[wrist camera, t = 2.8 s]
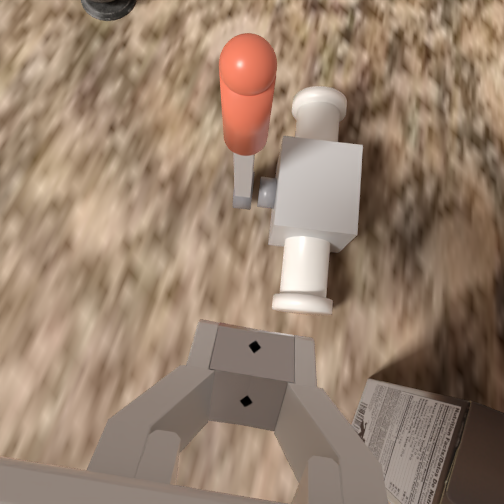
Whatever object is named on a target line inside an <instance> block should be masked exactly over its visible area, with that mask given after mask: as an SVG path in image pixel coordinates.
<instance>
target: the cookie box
mask: <svg viewBox="0 0 504 504" xmlns="http://www.w3.org/2000/svg"><path fill="white" fill-rule="evenodd" d="M351 426H352V427H353V429H354V430H355V431H356V433H357V434H358V435H359V437H360V438H361V439H362V441H363V442H364V443H365V444H366V446H367V447H368V448H369V450H370V451H371V452H372V454H373V455H374V456H375V458H376V459H377V460H378V461H379V463H380V464H381V465H382V471H383V476H384V482H385V488H386V493H387V499H388V501H389V502H390V503H391V504H504V413H502V412H500V411H497V410H494V409H492V408H489V407H487V406H484V405H482V404H479V403H476V402H474V401H467V400H463V399H458V398H454V397H450V396H445V395H440V394H436V393H431V392H427V391H423V390H418V389H414V388H410V387H405V386H401V385H397V384H392V383H389V382H384V381H379V380H375V379H370V378H369V379H368V380H367V383H366V386H365V389H364V391H363V394H362V397H361V400H360V402H359V405H358V408H357V411H356V414H355V417H354V419H353V422H352V425H351Z"/></svg>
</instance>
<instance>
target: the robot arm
mask: <svg viewBox="0 0 504 504" xmlns="http://www.w3.org/2000/svg"><path fill="white" fill-rule="evenodd" d="M208 420H209V421H217V422H224V423H231V424H238V425H244V426H249V427H255V428H260V429H265V430H270V431H274V434H275V436H276V438H277V440H278V442H279V444H280V446H281V448H282V450H283V452H284V454H285V456H286V458H287V460H288V462H289V464H290V466H291V468H292V470H293V472H294V474H295V476H296V478H297V480H298V482H299V485H298V488H297V490H296V493H295V496H294V498H293V501H292V504H388V499H387V493H386V488H385V482H384V476H383V471H382V465H381V464H380V463H379V461H378V460H377V459H376V458H375V456H374V455H373V454H372V452H371V451H370V450H369V448H368V447H367V446H366V444H365V443H364V442H363V441H362V439H361V438H360V437H359V435H358V434H357V433H356V431H355V430H354V429H353V427H352V426H351V425H350V424H349V422H348V421H347V420H346V418H345V417H344V416H343V414H342V413H341V412H340V410H339V409H338V408H337V407H336V405H335V404H334V403H333V401H332V400H331V399H330V397H329V396H328V395H327V393H326V392H325V391H324V390H323V389H322V388H317V379H316V361H315V344H314V339H313V338H310V337H303V336H297V335H294V336H293V335H289V334H283V333H276V332H270V331H264V330H258V329H252V328H246V327H241V326H236V325H231V324H225V323H218V322H213V321H208V320H203V319H200V321H199V322H198V325H197V329H196V332H195V336H194V339H193V343H192V346H191V350H190V353H189V357H188V361H187V364H186V366H185V365H179V366H178V367H177V368H175V369H174V370H173V371H172V372H170V373H169V374H168V375H166V376H165V377H164V378H162V379H161V380H160V381H158V382H157V383H156V384H154V385H153V386H152V387H150V388H149V389H148V390H147V391H145V392H144V393H143V394H141V395H140V396H139V397H137V398H136V399H135V400H133V401H132V402H131V403H129V404H128V405H127V406H125V407H124V408H123V409H122V410H120V411H119V412H118V413H116V414H115V415H114V416H112V417H111V418H110V419H108V421H107V424H106V426H105V428H104V431H103V433H102V435H101V438H100V440H99V442H98V445H97V447H96V449H95V452H94V454H93V456H92V459H91V461H90V463H89V466H88V468H87V470H81V469H75V468H68V467H62V466H56V465H50V464H44V463H38V462H32V461H26V460H20V459H14V458H8V457H2V456H0V504H286V503H280V502H274V501H268V500H262V499H256V498H250V497H244V496H238V495H232V494H226V493H220V492H214V491H208V490H202V489H196V488H190V487H184V486H178V485H176V482H177V472H178V461H179V453H180V452H181V451H182V450H183V449H184V448H185V447H186V446H187V445H188V443H189V442H190V441H191V440H192V439H193V438H194V437H195V436H196V435H197V434H198V432H199V431H200V430H201V429H202V428H203V427H204V426H205V425H206V424H207V423H208Z"/></svg>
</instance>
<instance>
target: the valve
mask: <svg viewBox="0 0 504 504" xmlns="http://www.w3.org/2000/svg"><path fill="white" fill-rule="evenodd" d="M346 108H347V99H346V97H345V95H344V94H343V93H341V92H340V91H338V90H336V89H334V88H330V87H325V86H314V87H309V88H305V89H303V90H301V91H299V92H298V93H297V94H296V95H295V96H294V98H293V105H292V114H293V116H294V118H295V119H296V120H297V123H296V133H295V137H290V136H283V140H282V144H281V149H280V154H279V158H278V163H277V168H276V177H275V178H269V177H261V180H260V188H259V197H258V205H257V207H264V208H272V214H271V224H270V233H269V242H268V245H274V246H283V247H284V255H283V265H282V275H281V286H280V294H274V295H273V302H272V309H274V310H278V311H283V312H289V313H296V314H305V315H332V306H333V300H331V299H328V298H326V294H327V280H328V267H329V253H330V252H335V253H339V252H340V251H341V250H342V249H343V248H344V247H345V246H346V245H347V244H348V243H349V242H350V241H351V240H352V239H354V238H355V237H356V236H357V233H358V217H359V200H360V183H361V167H362V150H363V145H358V144H349V143H341V142H338V132H339V122H340V121H342V120H343V119H344V117H345V116H346Z"/></svg>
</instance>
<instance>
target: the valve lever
mask: <svg viewBox="0 0 504 504" xmlns="http://www.w3.org/2000/svg"><path fill="white" fill-rule="evenodd" d="M219 70H220V72H219V73H220V88H221V102H222V117H223V132H224V141H225V143H226V145H227V147H228V148H229V149H230V150H231V151H232V152H234V195H233V208H241V209H249V210H250V209H251V201H252V192H253V183H254V174H255V172H253V169H254V157H255V154H256V153H258V152H259V151H261V150H262V149H263V147H264V146H265V144H266V142H267V137H268V130H269V123H270V115H271V108H272V101H273V94H274V86H275V79H276V71H277V59H276V55H275V52H274V50H273V48H272V46H271V45H270V44H269V42H267V41H266V40H265V39H264V38H262V37H261V36H259V35H256V34H251V33H245V34H240V35H237V36H235V37H234V38H232V39H231V40H230V41H228V43H227V44H226V45H225V46H224V48H223V50H222V52H221V55H220V59H219Z"/></svg>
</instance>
